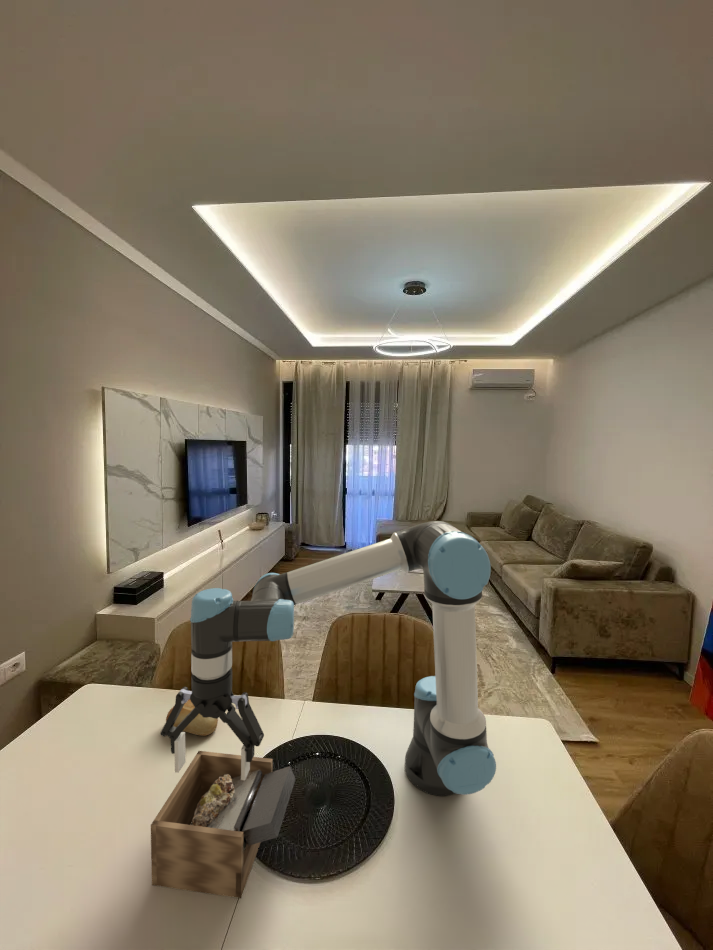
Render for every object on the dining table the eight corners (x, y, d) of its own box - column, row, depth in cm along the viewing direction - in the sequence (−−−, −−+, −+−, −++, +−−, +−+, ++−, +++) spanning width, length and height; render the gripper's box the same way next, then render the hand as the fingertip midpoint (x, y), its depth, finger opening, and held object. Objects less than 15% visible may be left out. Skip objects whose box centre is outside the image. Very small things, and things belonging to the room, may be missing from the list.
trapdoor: (195, 863, 77) (186, 844, 77) (226, 798, 91) (219, 782, 91) (276, 839, 75) (267, 819, 75) (296, 776, 89) (288, 759, 88)
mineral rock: (208, 776, 90) (232, 763, 88) (220, 792, 90) (244, 779, 88) (175, 825, 80) (200, 812, 77) (188, 843, 80) (215, 830, 77)
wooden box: (272, 809, 92) (272, 758, 91) (241, 898, 74) (241, 837, 73) (199, 800, 94) (198, 750, 93) (151, 885, 76) (150, 825, 75)
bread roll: (178, 712, 123) (178, 687, 122) (225, 720, 120) (225, 694, 120) (157, 735, 113) (157, 708, 113) (208, 744, 111) (208, 716, 110)
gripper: (280, 664, 83) (279, 763, 85) (162, 654, 86) (164, 750, 88) (268, 687, 76) (267, 794, 78) (139, 675, 78) (142, 779, 80)
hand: (212, 771), depth 83 cm, fingers open, 13 cm apart
